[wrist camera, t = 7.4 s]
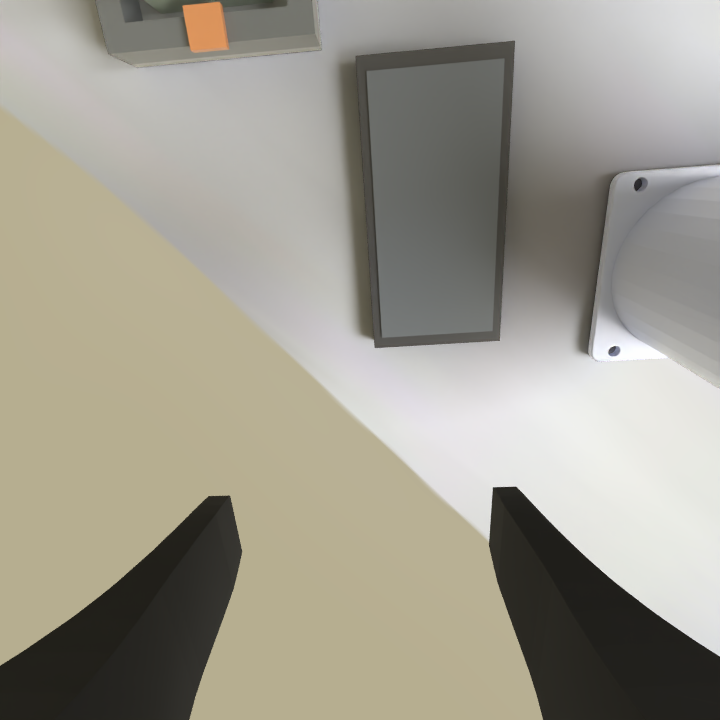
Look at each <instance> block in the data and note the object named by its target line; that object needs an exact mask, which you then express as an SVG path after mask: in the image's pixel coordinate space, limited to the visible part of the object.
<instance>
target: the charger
mask: <svg viewBox="0 0 720 720" xmlns="http://www.w3.org/2000/svg"><path fill="white" fill-rule="evenodd" d="M144 1H145V2H147V3H148V4H149V5H151V6H152V7H153V8H155V9H156V10H157V11H158V12H160V13H161V14H166V13H175V12H183V7H182V6H183V5H192V4H202V3H212V2H220V3H221V4H222V6H223V7H233V6H242V5H252V4H261V3H271V2H273V0H144Z"/></svg>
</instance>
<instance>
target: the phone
mask: <svg viewBox="0 0 720 720" xmlns="http://www.w3.org/2000/svg"><path fill="white" fill-rule="evenodd" d="M514 49H515V41H508V42H498V43H487V44H477V45H466V46H456V47H445V48H435V49H424V50H413V51H403V52H392V53H382V54H371V55H361V56H356V69H357V85H358V100H359V115H360V131H361V146H362V161H363V176H364V192H365V207H366V222H367V237H368V253H369V268H370V283H371V299H372V314H373V329H374V344H375V348H383V347H400V346H417V345H434V344H451V343H468V342H484V341H500V323H501V303H502V284H503V264H504V245H505V225H506V205H507V186H508V166H509V147H510V127H511V107H512V88H513V68H514Z"/></svg>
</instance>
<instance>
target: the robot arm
mask: <svg viewBox="0 0 720 720" xmlns="http://www.w3.org/2000/svg"><path fill="white" fill-rule="evenodd" d="M638 178H640V179H641V180H642V186H641V188H640V189H639V190H637V191H636V190H635V189H634V183H635V181H636V180H637V179H638ZM613 346H616V349H615V351H614V352H612V353H608V351H609V349H610V348H611V347H613ZM588 354H589V355H590V357H591V358H592V359H594V360H595V361H599V362H605V361H623V360H641V359H659V358H670V359H672V360H673V361H675V362H677V363H678V364H680V365H681V366H683V367H685V368H686V369H688V370H690V371H691V372H693V373H694V374H696V375H698V376H699V377H701V378H703V379H704V380H706V381H707V382H709V383H711V384H712V385H714V386H716V387H717V388H719V389H720V164H718V165H705V166H692V167H680V168H667V169H654V170H641V171H629V172H622V173H619V174H618V175H617V176H615V177H614V179H613V180H612V182H611V185H610V190H609V198H608V205H607V213H606V220H605V227H604V235H603V242H602V250H601V257H600V265H599V272H598V280H597V287H596V294H595V302H594V309H593V317H592V324H591V332H590V339H589V347H588ZM489 547H490V552H491V556H492V561H493V565H494V569H495V573H496V578H497V582H498V585H499V588H500V591H501V594H502V597H503V599H504V602H505V605H506V608H507V610H508V614H509V616H510V619H511V622H512V625H513V627H514V630H515V633H516V636H517V639H518V641H519V644H520V647H521V650H522V652H523V655H524V658H525V661H526V664H527V666H528V669H529V672H530V675H531V678H532V681H533V685H534V688H535V691H536V694H537V698H538V701H539V706H540V709H541V713H542V717H543V720H720V656H718V655H716V654H715V653H713V652H712V651H710V650H709V649H707V648H705V647H704V646H702V645H701V644H699V643H698V642H696V641H695V640H693V639H692V638H690V637H689V636H687V635H686V634H684V633H683V632H681V631H680V630H678V629H677V628H675V627H674V626H673V625H671V624H670V623H668V622H667V621H665V620H664V619H662V618H661V617H660V616H658V615H657V614H655V613H654V612H653V611H651V610H650V609H649V608H647V607H646V606H645V605H643V604H642V603H641V602H639V601H638V600H637V599H636V598H634V597H633V596H632V595H630V594H629V593H628V592H626V591H625V590H624V589H623V588H621V587H620V586H619V585H618V584H616V583H615V582H614V581H613V580H611V579H610V578H609V577H608V576H607V575H606V574H604V573H603V572H602V571H601V570H600V569H599V568H598V567H596V566H595V565H594V564H593V563H592V562H591V561H590V560H589V559H587V558H586V557H585V556H584V555H583V554H582V553H581V552H580V551H579V550H578V549H577V548H576V547H575V546H574V545H573V544H572V543H571V542H570V541H568V540H567V539H566V538H565V537H564V536H563V535H562V534H561V533H560V532H559V531H558V530H557V529H556V528H555V527H554V526H553V525H552V524H551V523H550V522H549V521H548V520H547V519H546V517H545V516H544V515H543V514H542V513H541V512H540V511H539V510H538V509H537V508H536V507H535V506H534V505H533V504H532V503H531V502H530V501H529V500H528V498H527V497H526V496H525V495H524V494H523V493H522V492H521V491H520V490H519V489H518V488H517V487H493V496H492V510H491V525H490V539H489ZM241 555H242V549H241V544H240V539H239V535H238V531H237V526H236V521H235V516H234V512H233V507H232V503H231V498H230V496H208V498H206V499H205V500H204V501H203V502H202V503H201V504H200V505H199V506H198V507H197V508H196V509H195V510H194V511H193V512H192V513H191V514H190V515H189V516H188V517H187V518H186V519H185V520H184V521H183V522H182V523H181V524H180V525H179V526H178V527H177V528H176V529H175V530H174V531H173V532H172V533H171V534H170V535H169V536H167V537H166V538H165V539H164V540H163V541H162V542H161V543H160V544H159V545H158V546H157V547H156V548H155V549H154V550H153V551H152V552H151V553H150V554H148V555H147V556H146V557H145V558H144V559H143V560H142V561H141V562H139V563H138V564H137V565H136V566H135V567H134V568H133V569H132V570H130V571H129V572H128V573H127V574H126V575H125V576H124V577H123V578H121V579H120V580H119V581H118V582H117V583H116V584H115V585H113V586H112V587H111V588H110V589H109V590H107V591H106V592H105V593H103V594H102V595H101V596H100V597H98V598H97V599H96V600H95V601H93V602H92V603H91V604H89V605H88V606H87V607H85V608H84V609H83V610H82V611H80V612H79V613H78V614H76V615H75V616H74V617H72V618H71V619H69V620H68V621H67V622H65V623H64V624H62V625H61V626H59V627H58V628H56V629H55V630H53V631H52V632H51V633H49V634H48V635H46V636H45V637H43V638H42V639H41V640H39V641H38V642H36V643H35V644H33V645H32V646H30V647H29V648H27V649H26V650H24V651H23V652H21V653H20V654H18V655H17V656H15V657H13V658H12V659H10V660H9V661H7V662H5V663H4V664H2V665H1V666H0V720H189V719H190V714H191V711H192V707H193V704H194V700H195V696H196V693H197V690H198V687H199V684H200V681H201V678H202V675H203V672H204V669H205V666H206V664H207V661H208V658H209V655H210V653H211V650H212V647H213V644H214V642H215V639H216V636H217V634H218V631H219V628H220V625H221V623H222V620H223V617H224V614H225V611H226V609H227V606H228V603H229V600H230V598H231V594H232V592H233V589H234V585H235V581H236V577H237V572H238V568H239V564H240V559H241Z"/></svg>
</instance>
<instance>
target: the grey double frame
mask: <svg viewBox="0 0 720 720" xmlns="http://www.w3.org/2000/svg"><path fill="white" fill-rule="evenodd" d="M95 2H96V6H97V10H98V14H99V18H100V23H101V27H102V31H103V35H104V39H105V43H106V47H107V51H108V54H109V55H111V56H114V57H116V58H118V59H120V60H122V61H124V62H127V63H129V64H131V65H133V66H135V67H137V68H139V67H149V66H159V65H170V64H180V63H191V62H201V61H211V60H222V59H232V58H243V57H253V56H264V55H274V54H284V53H295V52H305V51H316V50H322V47H321V36H320V25H319V14H318V2H317V0H273V2H271V3H261V4H252V5H242V6H233V7H223V6H222V4H221V3H220V2H212V3H202V4H192V5H183V6H182V7H183V12H175V13H166V14H161V13H160V12H158V11H157V10H156V9H155V8H153V7H152V6H151V5H149V4H148V3H147V2H145V1H144V0H95Z"/></svg>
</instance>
